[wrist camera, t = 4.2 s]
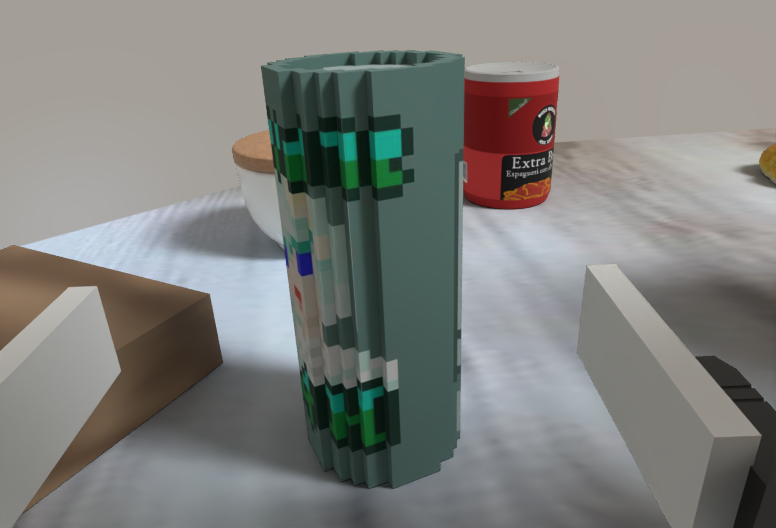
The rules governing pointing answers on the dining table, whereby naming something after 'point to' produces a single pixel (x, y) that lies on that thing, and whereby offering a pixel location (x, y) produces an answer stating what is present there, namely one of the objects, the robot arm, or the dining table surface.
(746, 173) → the dining table surface
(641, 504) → the dining table surface
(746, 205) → the dining table surface
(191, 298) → the walnut base
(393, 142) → the can
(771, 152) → the bread roll
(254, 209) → the lidded jar
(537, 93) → the canned food
